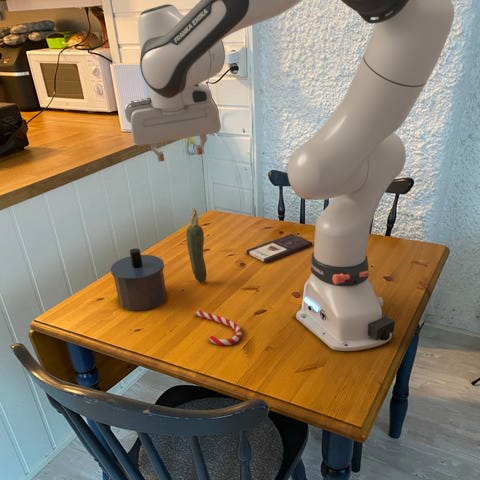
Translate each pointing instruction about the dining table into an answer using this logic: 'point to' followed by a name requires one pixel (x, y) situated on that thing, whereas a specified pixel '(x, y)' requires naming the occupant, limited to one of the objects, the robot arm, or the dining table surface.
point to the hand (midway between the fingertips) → (181, 157)
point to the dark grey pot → (141, 292)
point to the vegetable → (196, 248)
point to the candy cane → (226, 322)
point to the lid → (137, 266)
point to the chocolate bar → (279, 248)
